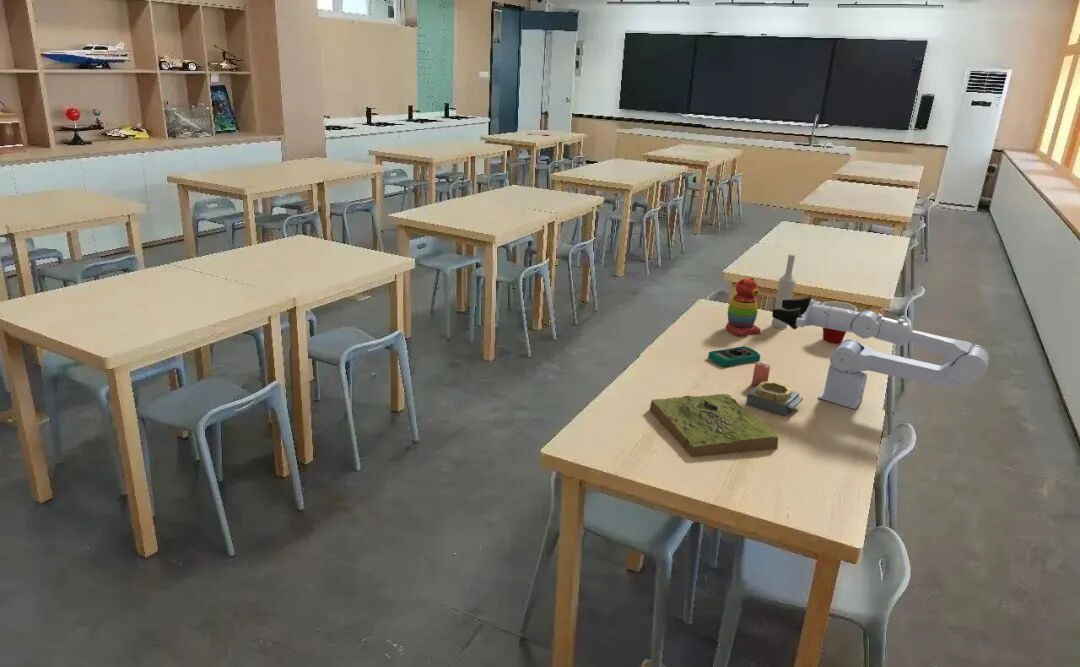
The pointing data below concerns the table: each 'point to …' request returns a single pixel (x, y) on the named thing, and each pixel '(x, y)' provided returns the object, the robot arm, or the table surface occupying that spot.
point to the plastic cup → (832, 334)
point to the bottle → (784, 290)
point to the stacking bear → (743, 309)
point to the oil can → (760, 373)
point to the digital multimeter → (734, 356)
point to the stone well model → (773, 398)
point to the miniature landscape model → (713, 425)
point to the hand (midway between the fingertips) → (777, 308)
